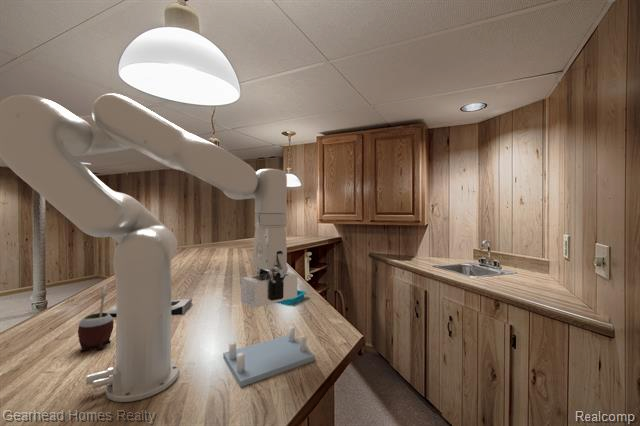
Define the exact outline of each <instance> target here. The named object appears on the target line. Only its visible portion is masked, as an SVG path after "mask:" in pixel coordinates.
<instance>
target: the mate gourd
mask: <svg viewBox="0 0 640 426" xmlns="http://www.w3.org/2000/svg"><path fill="white" fill-rule="evenodd" d="M107 285H108V283H104V286H103V289H102V292H101V295H100V298H101V299H100V309H99V312H97V313H93V314H90V315H86V316H85V317H83V318H82V319H81V321H80V322H79V325H78V327H77V328H78V329H77V337H78V340H79V341H78V343H79V346H80V348H81V349H80V353H81V354H84V353H85V352H88V351H92V350H94V349H95V350H97V351H99V352H101V351H103V350H104V347H103V346H105V345H109V344H110V343H111V341H112V340H110V339H111V335H112V333H113V330H114V319H113V317H112V316H111V315H110V314H108V313H107V312H103V310H104V302H105V297H106V294H105V293H106V289H107V287H108V286H107Z"/></svg>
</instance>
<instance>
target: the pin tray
mask: <svg viewBox="0 0 640 426" xmlns="http://www.w3.org/2000/svg"><path fill="white" fill-rule="evenodd" d="M295 334H296V327H295V326H292V325H291V326H289V327H288V334H287V335H284V336H280V337H276V338H272V339H269V340H265V341H262V342H257V343H255V344H251V345H247V346H244V347H240V348H237V342H236V341H231V342H229V344H228V345H229V346H228V349H229V350H228V351H225V352H223V355H222V356H223V360H224V362H225V363H226V365H227V366H228V368H229V370H230V372H231V374H232V376H233V377H234V379H235V380H236V382H237V384H238V386H239V387H240V388H242V387H245V386H249V385H250V384H253V383H256V382H259V381H262V380H264V379H267V378H270V377H273V376H276V375H278V374H279V375H280V374H281V373H284V372H287V371H289V370H292V369H295V368H298V367H301V366H304V365H306V364H308V363H309V364H310V363H311V362H312V363H313V362H314V361H316V355H315V354H313V353H312V351H310V350H309V349H307V335H306V334H302V335H301V334H300V337H299V341H298V340H297V339H295V337H296V335H295Z"/></svg>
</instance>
